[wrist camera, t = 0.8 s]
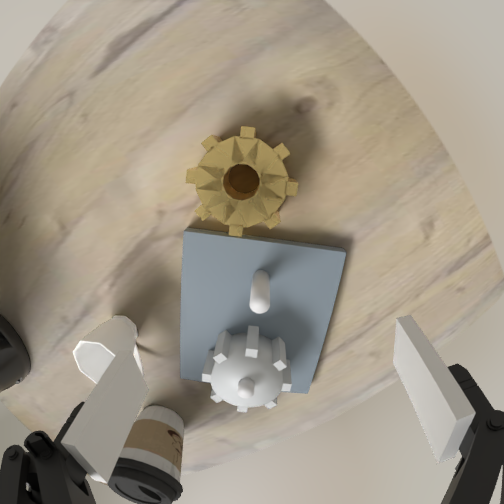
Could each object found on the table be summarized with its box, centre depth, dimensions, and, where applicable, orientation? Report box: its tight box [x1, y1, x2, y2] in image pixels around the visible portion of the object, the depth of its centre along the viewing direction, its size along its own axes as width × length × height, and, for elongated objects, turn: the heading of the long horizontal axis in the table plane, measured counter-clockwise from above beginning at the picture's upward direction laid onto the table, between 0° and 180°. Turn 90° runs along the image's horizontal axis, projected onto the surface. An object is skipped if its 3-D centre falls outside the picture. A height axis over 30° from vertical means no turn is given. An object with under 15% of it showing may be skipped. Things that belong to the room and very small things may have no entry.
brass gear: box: [186, 126, 298, 237], centre depth 29 cm, size 10×10×4 cm
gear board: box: [180, 228, 346, 412], centre depth 33 cm, size 17×20×8 cm
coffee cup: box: [107, 406, 184, 504], centre depth 37 cm, size 11×11×15 cm
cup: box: [73, 315, 144, 384], centre depth 35 cm, size 7×10×8 cm
